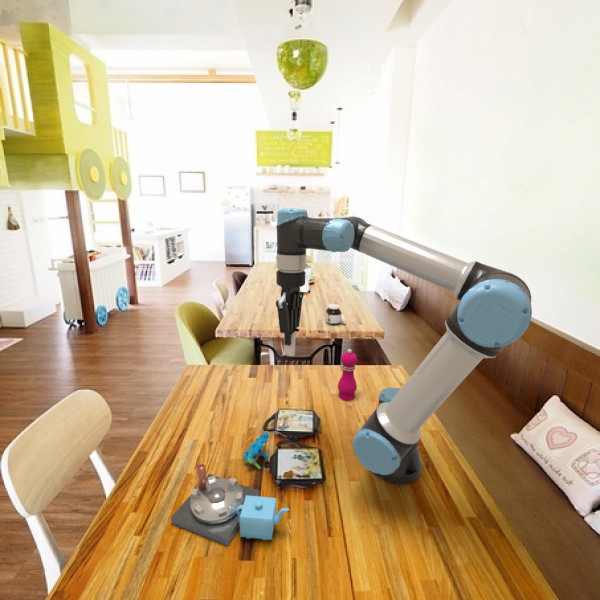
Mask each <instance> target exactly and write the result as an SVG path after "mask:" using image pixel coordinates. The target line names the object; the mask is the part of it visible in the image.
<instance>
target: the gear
mask: <svg viewBox="0 0 600 600" xmlns="http://www.w3.org/2000/svg"><path fill="white" fill-rule="evenodd" d="M270 437H271V435H270V433H268V432H267V431H265V432H264V433H261V434H260V435H259V437H257V438H255V439H254V443H251V444H250V445H249V447H248V448H249V449H246V450H245V452H244V455H243V456H242V459H243V460H244V461H245V462H248V464H249V465H251V466H253V465H254V466H255V467H256V468H257V470H260V469H261V468H262V467H261V466H260V465H259V464H258V463H257V461H258V458H259V456H260V455H261V456H262V457H263V458H264V459H265V460H268V459H270V456H269V455H268V454H267V453H266V452H265V451H264V450H263V449H264V447H265V446H264V444H267V442H269V438H270Z"/></svg>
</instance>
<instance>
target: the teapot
mask: <svg viewBox="0 0 600 600" xmlns="http://www.w3.org/2000/svg"><path fill="white" fill-rule="evenodd" d="M276 507H277V498H276V497H269V496H260V495H259V496H248V495H246V497H245V501H244V504H243V505H240V506H238V507H237V509H236V513H237V515H238V516H239V517H240V518H239V523H240V528H239V537H240V538H245V539H247V540H250V539H259V540H262V541H264V542H265V541H267V540H269V541H271V540H273V534H274V528H275V526H276V525H277V524H279V522H280V521H281V519H282V516H283V514H284V513H285V512H288V511H289V510H290V508H288V507H282V508H281V509H280V510H279V511H278V513H277V510H276V509H277V508H276ZM239 509H242V511H241V513H240V511H239Z"/></svg>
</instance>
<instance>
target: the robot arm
mask: <svg viewBox="0 0 600 600" xmlns="http://www.w3.org/2000/svg"><path fill="white" fill-rule="evenodd" d="M275 227H276V228H275V229H276V256H275V259H276V269H278V270H277V271H276V280H275V281H276V282H275V283H276V284H277V286H279V287H281V289H280V290H281V291H280V300H275V306H276V308H277V316H278V317H277V318H278V325H279V332H280V334H283V355H284V356H290V357H294V356H295V355H296V332H298V333H299V332H300V328H299V327H300V322H301V314H302V305H303V298H304V295H305V292H304V291H301V287H304V286H305V285H306V271H305V270H306V268H307V249H308V250H318V251H326V252H331V253H340V252H341V253H345V252H349V250H350V249H352V250H355V251H357V252H359V253H362V254H364V255H366V256H369V257H371V258H373V259H375V260H378V261H379V262H383V263H385V264H387V265H389V266H391V267H394V268H396V269H399V270H400V271H403V272H405V273H407V274H410V275H412V276H413V277H416V278H418V279H422V280H423V281H425V282H428V283H430V284H433V285H435V286H437V287H439V288H441V289H443V290H446V291H448V292H451V293H452V294H453V296H454V298H455V299H456V300H458V301H459V302H458V304H457V305H456V306H455V307H454V310H452V312H451V313H450V314H449V316H448V317H447V318H446V320H445V321H444V323H445V329H446V332H445V333H444V334H443V336H442V337H441V338H440V339H439V340H438V341H437V343H436V344H435V345H434V347H433V348H431V350H430V352H429V353H428V354H427V356H426V357H425V358H424V359H423V360H422V362H421V363H420V364H419V365H418V366H417V368H416V369H415V370H414V371H413V372H412V374H411V375H410V377H409V378H408V379H407V380H406V382H404V384H403V385H402V387H401V388H400V387H386V388H383V389H381V390H380V392H379V394H378V395H379V396H378V404H377V407H376V408H375V410H374V411H373V412H372V413H371V415H370V416H369V417H368V418H367V419H366V421H365V422H364V423H363V425H362V427H360V429H359V430H357V432H356V433H355V436H354V437H353V439H352V450H353V451H354V455H355V457H356V459H357V461H358V462H359V463H360V464H361V465H362V466H363V468H365V469H367V470H368V471H370V472H372V473H373V474H374V475H375V476H376V477H378V478H379V479H381V480H383V481H386V482H389V483H391V484H397V485H403V484H404V485H406V484H411V483H413V482H415V481H417V479H419V478H420V476H421V471H422V467H423V466H422V459H421V455H420V451H419V445H418V444H419V441H420V438H421V428H422V427H423V425H424V424H425V423H427V421H428V420H429V419H430V418H431V416H433V414H434V413H435V412H436V411H437V410H438V409H439V408H440V407H441V405H442V404H443V403H444V402H445V401H446V400H447V399H448V398H449V397H450V396H451V394H452V393H453V392H455V390H456V389H457V388H458V387H459V386H460V384H461V383H462V382H463V381H464V380H465V379H466V378H467V377H468V375H470V374H471V373H472V371H473V370H474V369H475V368H476V367H477V366H478V364H480V363H481V361H482V360H483V359H495V358H496V357H497V356H498V355H499V354H500V353H501V352H502V351H503V350H504V349H505V348H506V347H507V346H508V345H511V344H512V343H514V342H516V341H517V340H519V339H520V338H521V337H522V336H523V335H524V334H525V332H526V331H527V330H528V328H529V326H530V324H531V319H532V316H533V315H532V314H533V311H532V310H533V309H532V294H531V290H530V288H529V287H528V285H527V283H526V282H525V281H524V280H523V279H522V278H520V276H517V275H516V274H513V273H512V272H510V271H506V270H502V269H499V268H497V267H493V266H490V265H487V264H484V263H482V262H480V261H475V260H473V261H471V262H467V261H464V260H462V259H460V258H456V257H454V256H451V255H448V254H446V253H444V252H441V251H439V250H437V249H434V248H431V247H428V246H426V245H423V244H421V243H418V242H416V241H414V240H411V239H408V238H406V237H403V236H400V235H399V234H395V233H392V232H391V231H388V230H385V229H383V228H381V227H378V226H376V225H372V224H370V223H368V222H367V221H366V220H365V219H364V218H361V217H357V216H347V217H346V216H345V217H334V218H333V217H329V218H323V217H321V218H320V217H310V216H309V215H308V210H307V209H305V208H290V207H289V208H280V209H279V210H278V211H277V221H276V226H275Z"/></svg>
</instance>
